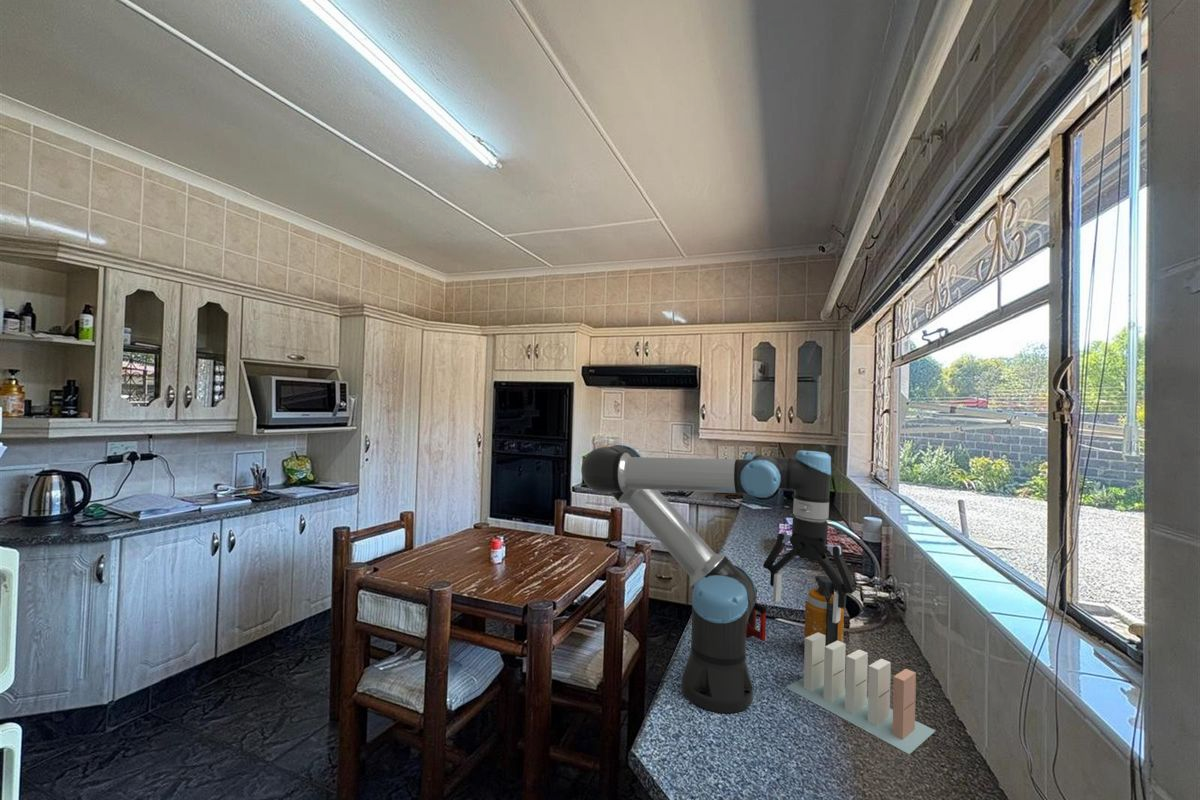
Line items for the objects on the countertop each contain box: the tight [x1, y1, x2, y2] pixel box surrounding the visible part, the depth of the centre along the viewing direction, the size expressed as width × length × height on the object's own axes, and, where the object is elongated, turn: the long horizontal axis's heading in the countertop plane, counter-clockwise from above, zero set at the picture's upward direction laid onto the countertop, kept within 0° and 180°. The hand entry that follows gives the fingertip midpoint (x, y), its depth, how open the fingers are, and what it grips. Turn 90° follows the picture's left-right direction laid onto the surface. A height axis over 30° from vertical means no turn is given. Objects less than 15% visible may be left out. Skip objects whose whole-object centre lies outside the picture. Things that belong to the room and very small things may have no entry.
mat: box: [785, 677, 937, 755], centre depth 100 cm, size 25×12×1 cm, turn 36°
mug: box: [746, 586, 767, 642], centre depth 135 cm, size 10×14×12 cm
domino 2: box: [823, 640, 847, 702], centre depth 104 cm, size 2×5×11 cm, turn 126°
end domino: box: [892, 668, 917, 740], centre depth 93 cm, size 2×5×11 cm, turn 126°
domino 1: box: [803, 632, 825, 692], centre depth 108 cm, size 2×5×11 cm, turn 126°
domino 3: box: [845, 649, 869, 714], centre depth 101 cm, size 2×5×11 cm, turn 126°
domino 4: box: [867, 658, 892, 726], centre depth 97 cm, size 2×5×11 cm, turn 126°
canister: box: [803, 575, 845, 652], centre depth 121 cm, size 9×11×20 cm
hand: (805, 610), depth 110 cm, fingers open, 13 cm apart
